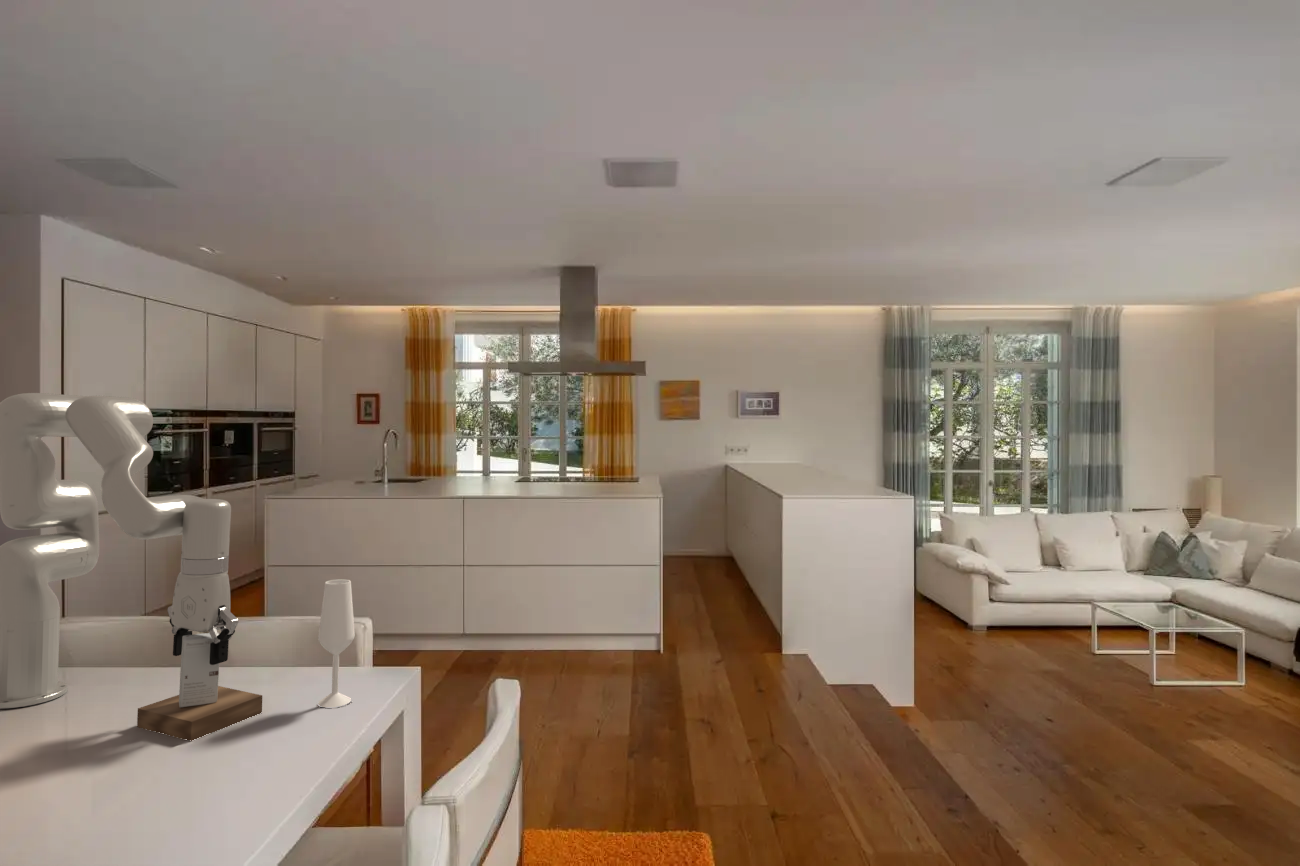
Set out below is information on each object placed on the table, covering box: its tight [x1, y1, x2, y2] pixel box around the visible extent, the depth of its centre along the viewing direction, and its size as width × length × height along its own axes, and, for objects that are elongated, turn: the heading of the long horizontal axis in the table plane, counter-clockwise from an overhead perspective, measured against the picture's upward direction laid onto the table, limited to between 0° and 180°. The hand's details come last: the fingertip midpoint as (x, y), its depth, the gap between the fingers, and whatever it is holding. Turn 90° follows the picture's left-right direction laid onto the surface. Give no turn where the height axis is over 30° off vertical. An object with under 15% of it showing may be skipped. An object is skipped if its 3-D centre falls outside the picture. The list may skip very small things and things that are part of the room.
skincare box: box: [178, 631, 220, 708], centre depth 133 cm, size 6×4×12 cm
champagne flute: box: [317, 578, 356, 707], centre depth 143 cm, size 7×7×24 cm
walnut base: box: [136, 685, 263, 742], centre depth 133 cm, size 14×14×4 cm
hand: (200, 658), depth 133 cm, fingers open, 9 cm apart
